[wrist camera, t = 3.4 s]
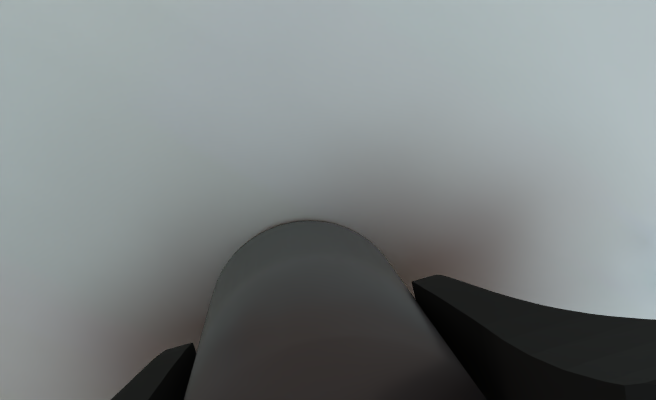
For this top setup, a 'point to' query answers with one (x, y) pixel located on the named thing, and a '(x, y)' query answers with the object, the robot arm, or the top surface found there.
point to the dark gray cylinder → (320, 326)
